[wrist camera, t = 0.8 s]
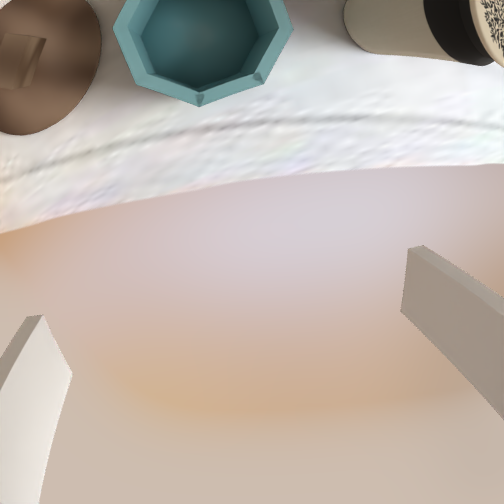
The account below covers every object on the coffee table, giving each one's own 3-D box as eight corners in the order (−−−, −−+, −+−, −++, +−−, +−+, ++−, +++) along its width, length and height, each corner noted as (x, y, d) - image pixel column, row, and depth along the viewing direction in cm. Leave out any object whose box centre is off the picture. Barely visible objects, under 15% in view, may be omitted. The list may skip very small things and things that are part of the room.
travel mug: (354, 59, 28) (485, 77, 13) (332, -7, 23) (456, -42, 8) (409, 49, 28) (538, 70, 13) (391, -12, 23) (518, -25, 8)
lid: (6, -16, 15) (-17, -23, 11) (129, 2, 21) (118, -9, 17) (-36, 118, 22) (-62, 129, 17) (71, 148, 28) (53, 163, 23)
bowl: (171, -35, 19) (167, -65, 13) (283, 10, 24) (313, -5, 17) (116, 70, 24) (93, 72, 18) (229, 111, 29) (242, 125, 22)
